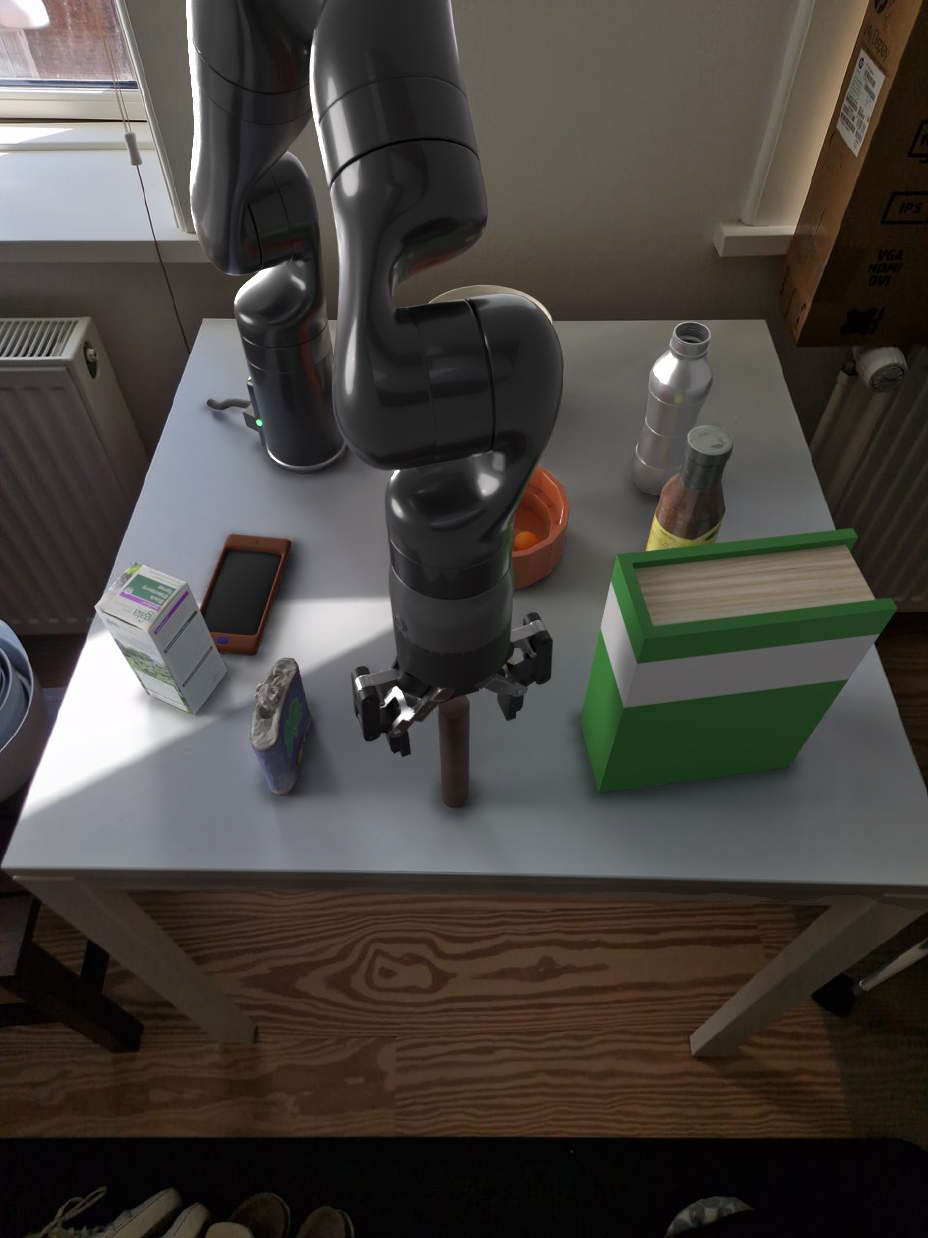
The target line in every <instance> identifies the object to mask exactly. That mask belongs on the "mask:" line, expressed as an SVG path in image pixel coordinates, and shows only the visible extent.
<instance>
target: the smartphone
mask: <svg viewBox="0 0 928 1238" xmlns="http://www.w3.org/2000/svg"><path fill="white" fill-rule="evenodd" d="M291 547H292V540H290V539H288V538H279V537H271V536H260V535H250V534H238V533H230V534H228V535H227V537H226V539H225V542H224V545H223V547H222V550H221V552H220V555H219V557H218V560H217V563H216V565H215V567H214V570H213V573H212V575H211V578H210V581H209V583H208V586H207V589H206V591H205V593H204V596H203V599H202V602H201V604H200V607H199V609H200V612H201V614H202V616H203V619H204V621H205V623H206V626H207V628H208V630H209V632H210V635H211V637H212V639H213V641H214V644H215V646H216V648H217V650H218V653H219V654H220V653H222V654H229V655H238V656H248V657H253V656H255V655H257V652H258V650H259V647H260V645H261V643H262V639H263V636H264V633H265V629H266V627H267V623H268V620H269V617H270V615H271V611H272V607H273V604H274V601H275V599H276V596H277V592H278V589H279V586H280V583H281V580H282V577H283V573H284V570H285V567H286V564H287V561H288V559H289V558H288V557H289V554H290V551H291Z"/></svg>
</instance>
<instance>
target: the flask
mask: <svg viewBox="0 0 928 1238" xmlns="http://www.w3.org/2000/svg"><path fill="white" fill-rule="evenodd" d="M254 693H258V694H253V695H254V698H255V699H256V700H255V703H254V708H253V712H252V719H251V726H250V731H249V733H250V736H249V741H250V744H251V748H252V750H253V752H254V754H255V757H256V759H257V761H258V764H259V766H260V768H261V771H262V773H263V777H264V779H265V782H266V784H267V786H268V789H269V790H270V792H272V793H273V794H274V795H277V796H278V795H279V796H287V795H288V794H289V793H290V792H291V791H292V790H293V788H294V786H295V784H296V781H297V779H298V775H297V771H298V767H299V764H300V763H301V759H302V758H303V753H304V752H303V751H304V750H303V746H302V745H303V743H304V742H305V741H306V732H307V731H309V726H310V724H311V722H312V721H311V720H312V714H311V711H310V709H309V706H308V705H309V704H308V701H307V696H306V695H307V694H306V691H305V688H304V683H303V679H302V675H301V670H300V666H299V664H298V662H297V661H296V659H295V658H294V657H281V658H277V660H275V661H274V662H273V663H272V665H271V667H270V669H269V670H268V672H267V674H266V676H265V678H264V680H263V682H259V683H258V684H257V685H256V686H255V687H254Z"/></svg>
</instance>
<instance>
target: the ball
mask: <svg viewBox="0 0 928 1238" xmlns="http://www.w3.org/2000/svg"><path fill="white" fill-rule="evenodd" d="M537 544H538V539H537V537H536V536H535V535H534V534H533V533H531V532H528V531H524V532H521V533H519V534H518V535H517V536H516V537H515V539H514V548H515V550H516V551H522V550H527V549H529V548H531V547H533V546H535V545H537Z"/></svg>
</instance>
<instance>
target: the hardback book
mask: <svg viewBox="0 0 928 1238" xmlns="http://www.w3.org/2000/svg"><path fill="white" fill-rule="evenodd" d="M858 539H859V536H858V534H857V532H856V531H855V529H854V528H853V527H851V528H841V529H832V530H822V531H814V532H805V533H796V534H787V535H779V536H769V537H761V538H760V537H759V538H750V539H741V540H733V541H725V542H715V544H706V545H697V546H688V547H679V548H670V549H661V550H652V551H646V550H645V551H636V552H627V553H617V554H616V556H615V561H614V566H613V569H612V574H611V579H610V584H609V588H608V591H607V598H606V602H605V607H604V610H603V615H602V620H601V624H600V628H599V633H598V636H597V637H598V638H597V642H596V646H595V651H594V655H593V659H592V664H591V669H590V673H589V678H588V683H587V688H586V691H585V695H584V700H583V705H582V708H581V709H582V710H581V714H580V718H579V722H580V726H581V730H582V734H583V739H584V742H585V747H586V750H587V754H588V758H589V761H590V766H591V771H592V774H593V778H594V782H595V786H596V789H597V793H598V794H600V793H607V792H609V793H610V792H615V791H623V790H630V789H631V790H632V789H638V788H644V787H653V786H659V785H660V786H661V785H668V784H674V783H683V782H689V781H696V780H704V779H705V780H706V779H710V778H711V779H712V778H718V777H719V778H720V777H727V776H733V775H740V774H748V773H756V772H762V771H770V770H776V769H777V770H778V769H785V768H789V767H790V766H791V764H792V763H793V761H794V760H795V759H796V758H797V756H798V754H799V753H800V751H801V750H802V748H803V747H804V745H805V744H806V742H807V741H808V740H809V738H810V737H811V735H812V734H813V732H814V731H815V729H816V728H817V726H818V725H819V724H820V722H821V720H822V719H823V718H824V716H825V715H826V714H827V712H828V711H829V709H830V707H832V705H833V704H834V702H835V701H836V699H837V697H838V696H839V695H840V693H841V691H842V690H843V689H844V687H845V686H846V685H847V684H848V682H849V680H850V678H852V676H853V674H854V672H855V671H857V668H858V667H859V666H860V664H861V663H862V661H863V659H864V658H865V657H866V655H867V654H868V653H869V651H870V650H871V648H872V646H873V645H874V644H875V642H876V641H877V639H878V638H879V636H880V635H881V634H882V632H883V631H884V629H885V627H886V626H887V625H888V623H889V622H890V620H891V619H892V617H893V616H894V615H895V613H896V612H897V610H898V607H897V605H896V603H895V601H894V600H893V598H892V597H887V598H880V599H876V598H875V596H874V594H873V592H872V590H871V588H870V586H869V585H868V583H867V580H866V579H865V577H864V575H863V574H862V572H861V569H860V568H859V566H858V564H857V562H856V560H855V558H854V557H853V555H852V553H851V551H852V549H853V547H854V546H855V544H856V542H857V540H858Z"/></svg>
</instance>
